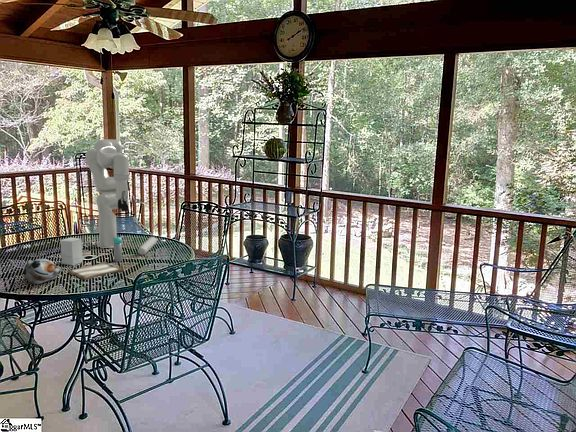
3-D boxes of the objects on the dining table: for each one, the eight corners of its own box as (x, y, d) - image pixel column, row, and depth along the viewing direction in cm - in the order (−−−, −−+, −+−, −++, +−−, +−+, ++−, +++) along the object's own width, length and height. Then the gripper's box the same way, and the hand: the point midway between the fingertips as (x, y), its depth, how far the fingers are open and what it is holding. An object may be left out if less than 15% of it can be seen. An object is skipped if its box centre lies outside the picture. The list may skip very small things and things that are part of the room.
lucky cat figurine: (60, 275, 232) (65, 253, 225) (53, 292, 222) (58, 270, 215) (27, 267, 227) (31, 245, 220) (18, 285, 217) (21, 262, 210)
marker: (112, 260, 258) (111, 238, 256) (119, 259, 261) (118, 236, 259) (116, 262, 256) (116, 239, 253) (123, 260, 259) (123, 238, 256)
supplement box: (83, 262, 254) (82, 238, 251) (72, 265, 247) (71, 241, 244) (71, 260, 256) (70, 237, 254) (61, 263, 249) (60, 240, 247)
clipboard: (68, 272, 236) (68, 269, 236) (106, 264, 251) (106, 261, 251) (85, 280, 226) (85, 276, 226) (123, 271, 241) (123, 267, 241)
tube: (147, 249, 269) (158, 238, 293) (137, 246, 268) (149, 235, 293) (144, 258, 270) (155, 246, 294) (135, 254, 269) (147, 243, 294)
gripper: (111, 176, 261) (112, 208, 263) (116, 179, 246) (118, 212, 248) (125, 176, 264) (127, 207, 267) (132, 178, 249) (133, 211, 252)
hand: (122, 209), depth 257 cm, fingers open, 9 cm apart
